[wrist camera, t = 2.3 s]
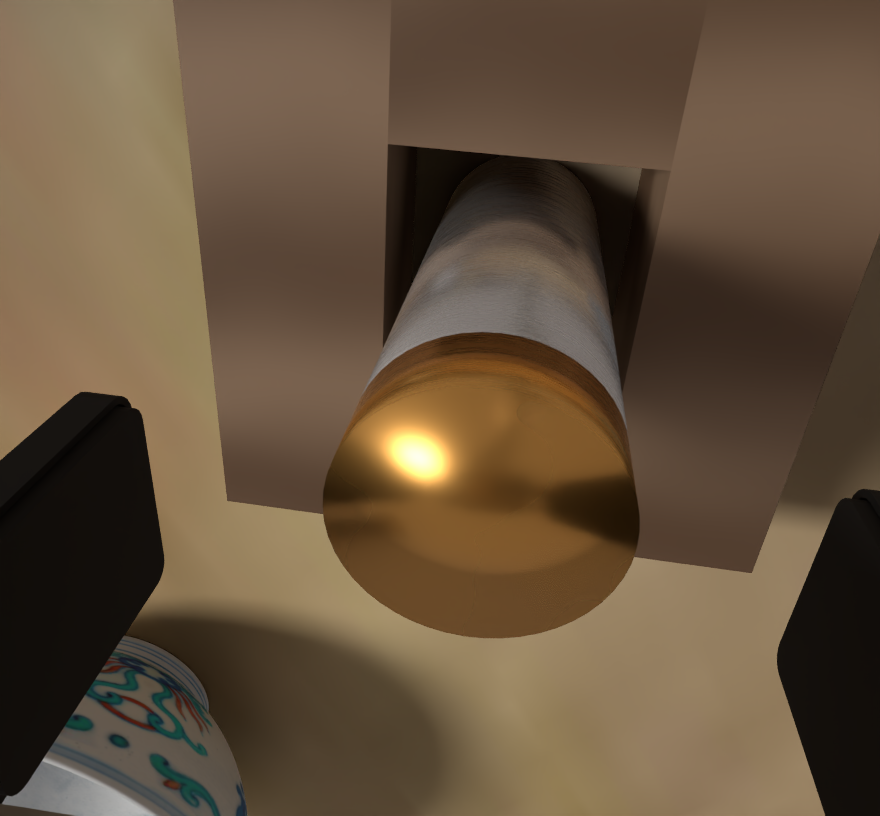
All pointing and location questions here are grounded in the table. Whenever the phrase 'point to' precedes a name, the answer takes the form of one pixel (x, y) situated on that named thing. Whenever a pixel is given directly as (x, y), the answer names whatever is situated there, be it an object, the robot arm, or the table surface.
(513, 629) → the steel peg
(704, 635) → the table surface
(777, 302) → the socket block
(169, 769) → the chinaware
